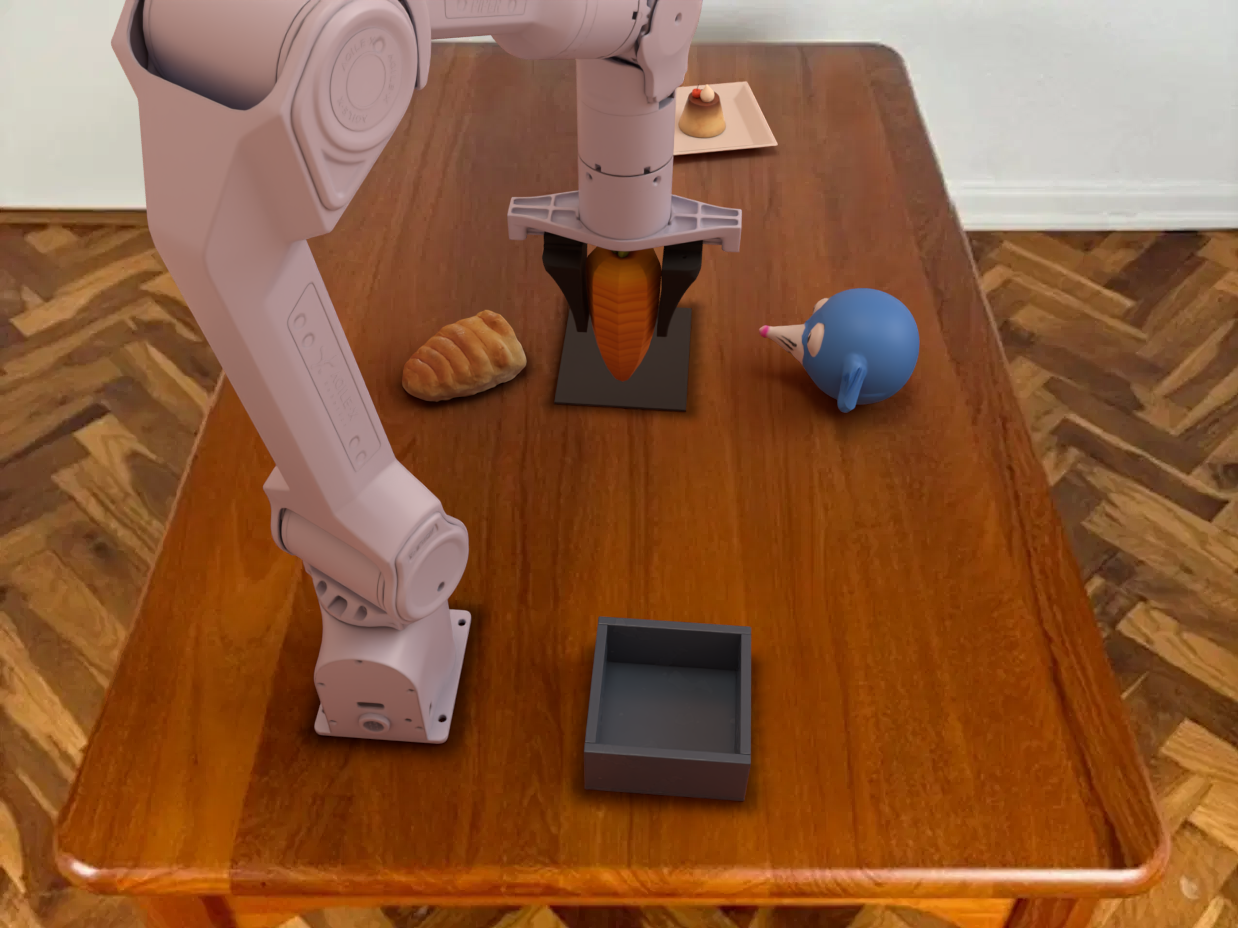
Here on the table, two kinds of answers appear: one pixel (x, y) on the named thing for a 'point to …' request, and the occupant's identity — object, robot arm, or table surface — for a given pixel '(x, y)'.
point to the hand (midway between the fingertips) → (623, 325)
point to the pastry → (464, 359)
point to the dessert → (719, 119)
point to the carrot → (623, 305)
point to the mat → (648, 386)
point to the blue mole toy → (854, 346)
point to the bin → (669, 709)
